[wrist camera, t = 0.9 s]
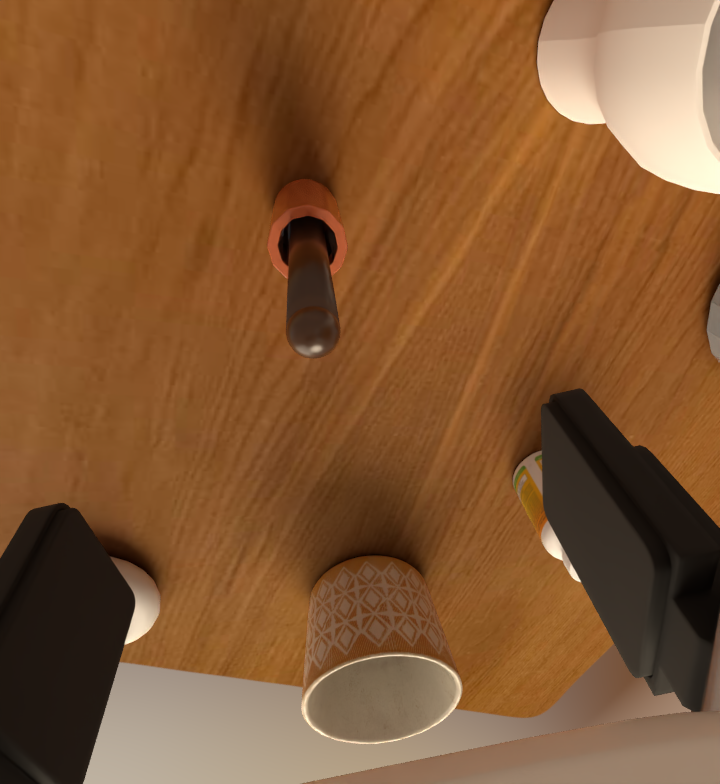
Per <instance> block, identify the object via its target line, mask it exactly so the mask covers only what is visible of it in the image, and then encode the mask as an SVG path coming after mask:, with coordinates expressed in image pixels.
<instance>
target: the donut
mask: <svg viewBox="0 0 720 784" xmlns="http://www.w3.org/2000/svg"><path fill="white" fill-rule="evenodd" d="M110 558H111V559H112V561H113V562H114V564H115V565H116V567H117V568H118V570H119V571H120V573H121V574H122V576H123V577H124V579H125V580H126V582H127V583H128V585H129V586H130V588H131V589H132V591H133V593H134V596H135V611H134V614H133V617H132V621H131V624H130V628H129V631H128V634H127V638H126V641H125V644H128V643H130V642H133V641H135V640H137V639H138V638H140V637H141V636H142V635H144V634H145V633H146V632H148V630H149V629H150V628H151V627H152V625H153V624H154V622H155V620H156V619H157V617H158V615H159V613H160V593H159V591H158V589H157V586H156V584H155V582H154V580H153V579H152V578H151V577H150V576H149V575H148V574H147V573H146V572H145V571H144V570H143V569H141V568H139V567H137V566H136V565H134V564H132V563H130V562H128V561H125V560H121V559H118V558H114V557H110ZM125 644H124V645H125Z"/></svg>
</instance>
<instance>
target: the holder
mask: <svg viewBox="0 0 720 784" xmlns="http://www.w3.org/2000/svg"><path fill="white" fill-rule="evenodd" d="M305 216H311V217H314V218H317V219H320V220H322V222H323V228H324V234H325V240H326V246H327V252H328V258H329V264H330V270H331V276H332V275H333V274H334V273H336V272H337V271H338V270H339V269H340V268H341V266H342V265H343V262H344V259H345V255H346V252H347V249H348V245H347V240H346V236H345V231H344V227H343V223H342V220H341V216H340V213H339V209H338V206H337V203H336V200H335V198H334V197H333V195H332V193H331V192H330V191H329V190H328V189H327V188H326V187H325V186H324V185H323V184H321V183H319V182H317V181H315V180H311V179H298V180H295V181H292V182H290V183H288V184H287V185H285V186H284V187H283V188H282V189H281V190H280V192H279V193H278V195H277V197H276V199H275V202H274V207H273V211H272V217H271V223H270V229H269V236H268V242H267V247H268V250H269V254H270V257H271V260H272V264H273V265H274V266H275V267H276V268H277V269H278V270H279V271H280V272H281V273H282V274H283V275H284V276H285V277H286V278H287V279H288V266H289V238H290V222H291V221H292V220H293V219H296V218H301V217H305Z"/></svg>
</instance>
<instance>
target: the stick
mask: <svg viewBox="0 0 720 784" xmlns="http://www.w3.org/2000/svg"><path fill="white" fill-rule="evenodd" d="M286 335H287V340H288V342H289V344H290V346H291V347H292V349H293V350H294V351H295V352H296V353H298V354H299V355H301V356H303V357H306V358H321V357H324V356H326V355H328V354H329V353H331V352H332V351H333V350H334V348H335V347H336V345H337V344H338V342H339V338H340V324H339V318H338V312H337V306H336V300H335V294H334V288H333V282H332V276H331V270H330V264H329V258H328V252H327V246H326V240H325V234H324V228H323V222H322V220H320V219H317V218H314V217H311V216H305V217H301V218H296V219H293V220H292V221H291V222H290V238H289V266H288V293H287V320H286Z"/></svg>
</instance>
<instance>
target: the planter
mask: <svg viewBox="0 0 720 784" xmlns="http://www.w3.org/2000/svg"><path fill="white" fill-rule="evenodd" d="M461 695H462V682H461V679H460V676H459V673H458V671H457V668H456V665H455V662H454V660H453V657H452V654H451V651H450V649H449V646H448V643H447V640H446V638H445V635H444V632H443V629H442V627H441V624H440V621H439V618H438V615H437V613H436V610H435V607H434V604H433V602H432V599H431V596H430V593H429V591H428V588H427V585H426V583H425V581H424V579H423V577H422V576H421V574H420V573H419V572H418V571H417V570H416V569H415V568H414V567H412V566H411V565H409V564H408V563H406V562H404V561H402V560H399V559H396V558H393V557H388V556H377V555H373V556H362V557H357V558H353V559H350V560H347V561H344V562H342V563H340V564H338V565H336V566H334V567H333V568H331V569H330V570H328V571H327V572H326V573H325V574H324V575H323V576H322V577H321V578H320V579H319V580H318V581H317V583H316V584H315V586H314V588H313V590H312V593H311V596H310V602H309V615H308V628H307V641H306V654H305V667H304V679H303V692H302V705H301V706H302V707H301V708H302V714H303V717H304V719H305V720H306V722H307V723H308V724H309V726H310V727H312V728H313V729H314V730H315V731H317V732H318V733H320V734H322V735H324V736H326V737H329V738H331V739H334V740H338V741H342V742H348V743H357V744H375V743H385V742H391V741H396V740H401V739H404V738H407V737H411V736H414V735H416V734H419V733H421V732H424V731H426V730H428V729H430V728H432V727H433V726H435V725H437V724H438V723H440V722H441V721H442V720H444V719H445V718H446V717H447V716H448V715H449V714H450V713H451V712H452V711H453V710H454V709H455V707H456V706H457V704H458V703H459V700H460V698H461Z"/></svg>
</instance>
